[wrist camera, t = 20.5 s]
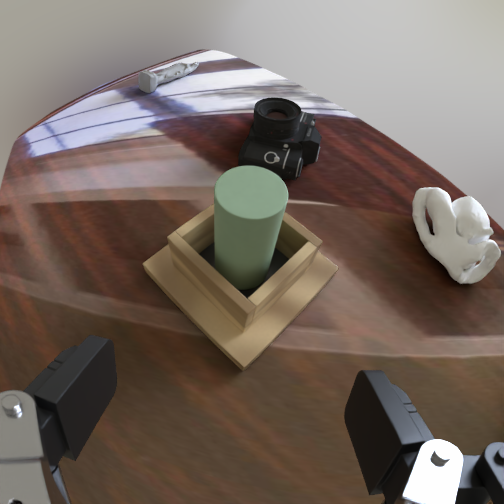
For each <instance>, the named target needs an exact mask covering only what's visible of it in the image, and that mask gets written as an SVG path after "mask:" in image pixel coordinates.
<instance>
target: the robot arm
mask: <svg viewBox="0 0 504 504" xmlns="http://www.w3.org/2000/svg"><path fill="white" fill-rule="evenodd" d="M116 386H117V373H116V364H115V353H114V344H113V341H112V340H110V339H106V338H102V337H98V336H94V335H89V336H88V337H87V338H86V339H85V340H84V341H83V342H82V343H81V344H80V345H79V346H72V347H70V348H68V349H66V350H64V351H62V352H61V353H60V354H59V355H58V356H57V357H56V358H55V359H54V361H52V362H51V363H50V364H49V365H48V366H47V368H45V369H44V370H43V371H42V372H41V373H40V374H39V375H38V376H37V377H36V378H35V379H34V380H33V381H32V383H31V384H30V385H29V386H28V387H27V388H26V389H25V390H24V391H19V390H8V391H4V392H2V393H0V504H72V503H71V500H70V497H69V494H68V491H67V488H66V485H65V481H64V478H63V475H62V471H61V468H60V465H59V461H60V460H61V458H62V456H64V457H67V458H69V459H72V460H74V461H76V459H77V457H78V456H79V454H80V452H81V450H82V448H83V447H84V445H85V443H86V441H87V440H88V438H89V436H90V434H91V433H92V431H93V429H94V428H95V426H96V424H97V422H98V421H99V419H100V417H101V416H102V414H103V412H104V411H105V409H106V407H107V406H108V404H109V402H110V400H111V399H112V397H113V395H114V393H115V390H116ZM344 418H345V424H346V427H347V430H348V433H349V435H350V438H351V441H352V444H353V447H354V450H355V453H356V456H357V459H358V462H359V465H360V468H361V471H362V474H363V477H364V480H365V483H366V486H367V489H368V492H369V495H375V494H381V493H383V494H384V497H385V499H384V500H383V502H382V503H381V504H486V503H487V502H488V501H489V500H490V499H492V501H493V503H494V504H504V443H501V442H495V443H491V444H489V445H488V446H487V447H486V449H485V450H484V452H483V453H482V454H481V456H473V455H462V454H461V452H460V450H459V449H458V448H457V447H456V446H454V445H453V444H451V443H449V442H447V441H444V440H435V439H434V437H433V435H432V434H431V432H430V430H429V429H428V427H427V426H426V424H425V422H424V421H423V419H422V418H421V416H420V415H419V413H417V410H416V408H415V407H414V405H412V402H411V401H410V399H409V397H408V396H407V394H406V393H405V392H404V391H402V390H401V389H400V388H399V387H397V386H396V385H395V384H391V383H390V381H389V380H388V378H387V376H386V375H385V373H384V372H383V371H381V370H361V371H359V373H358V374H357V376H356V379H355V382H354V385H353V388H352V391H351V393H350V396H349V399H348V402H347V404H346V407H345V415H344Z"/></svg>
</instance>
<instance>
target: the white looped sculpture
mask: <svg viewBox="0 0 504 504" xmlns="http://www.w3.org/2000/svg"><path fill="white" fill-rule="evenodd" d="M412 206H413V213H412V217H413V219H414V223H415V225H416V229H417V232H418V233H419V235H420V240H421V241H422V243H423V244H424V246H425V248H426V249H427V251H428V252H429V253H430V254H431V255H432V256H433V257H434V258H435V259H437V260H438V261H439V262H440V263H441V264H442V265H444V266H445V267H446V269H447V270H448V272H449V275H450V276H451V277H452V278H453V279H454V280H455V281H457V282H459V283H460V284H462V283H470V284H472V283H475V282H478V281H480V280H481V279H482V278H484V277H485V276H486V275H487V274H488V273H489V272H490V271H491V270H492V269H493V268H494V266H495V263H496V261H497V260H498V259H499V258H500V255H501V251H500V249H499V248H498V245H497V244H496V243H495V242H494V241H493V240H488V239H489V236H490V235H492V234H493V233H494V232H493V230H492V228H490V224H489V223H490V221H489V218H488V216H487V213H486V212H485V210H484V209H483V207H482V205H480V204H479V203H478V202H477V201H476V199H473V198H472V197H471V196H468V197H467V196H466V197H462V198H459V199H457V200H455V201H453V203H451V199H450V196H449V195H448V193H447V192H445V191H443V190H442V189H440V188H438V187H437V188H431V187H428V188H420V189H419V190H418V191H417V192H416V193H415V197H414V200H413V202H412ZM426 208H427V211H428V214H429V216H430V218H431V219H432V221H433V231H434V233H435V235H432V234H431V233H430V230H429V228H428V224H427V222H426V218H425V210H426ZM486 240H487V241H486ZM481 259H482V260H481ZM480 260H481V262H480V263H479V264H478V265H476V266H474V265H475V263H476V262H477V261H480ZM473 266H474V267H473ZM470 268H471V269H470ZM464 269H466V270H464ZM463 270H464V271H463Z"/></svg>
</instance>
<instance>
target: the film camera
mask: <svg viewBox="0 0 504 504" xmlns="http://www.w3.org/2000/svg"><path fill="white" fill-rule="evenodd" d="M313 118H314V114H311V113H306V112H302V111H301V108H300V107H299V106H298V105H297V104H296V103H294V102H292V101H290V100H287V99H283V98H266V99H262V100H260V101H258V102H257V103H256V104H255V108H254V123H253V124H252V126H251V128H250V133H249V135H248V137H247V139H246V140H245V142H244V144H243V146H242V147H241V150H240V152H239V155H238V165H239V166H257V167H262V168H265V169H267V170H270V171H272V172H273V173H275V174H276V175H278V176H281V178H282V179H286V178H288V179H292V180H295V179H296V178H297V177H299V176H300V173H301V169H302V165H304V164H311V163H314V162H317V158H318V154H319V150H320V147H319V146H320V140H321V135H320V134H319V132H318V131H317V129H316V128H315V121H316V119H313Z"/></svg>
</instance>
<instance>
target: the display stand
mask: <svg viewBox="0 0 504 504" xmlns="http://www.w3.org/2000/svg"><path fill="white" fill-rule="evenodd" d="M167 239H168V245H167V246H165V247H164V248H163V249H161V250H160V251H159V252H157V253H156V254H155V255H153V256H152V257H151V258H149V259H148V260H147V261H145V262H144V263H143V266H144V269H145V271H146V273H147V274H148V275H149V276H150V277H151V278H152V280H153V281H154V282H155V283H156V284H157V285H158V286H159V287H160V288H161V289H162V290H163V292H164V293H165V294H166V295H167V296H168V297H169V298H170V299H171V300H172V301H173V302H174V303H175V304H176V305H177V307H178V308H179V309H180V310H181V311H182V312H183V313H184V314H185V315H186V316H187V317H188V318H189V319H190V320H191V321H192V322H193V323H194V324H195V325H196V326H197V327H198V328H199V329H200V330H201V331H202V332H203V333H204V334H205V335H206V336H207V337H208V338H209V339H210V340H211V341H212V342H213V343H214V344H215V345H216V346H217V347H218V348H219V349H220V350H221V351H222V352H223V353H224V354H225V355H226V356H227V357H228V358H229V359H230V360H231V361H233V362H234V363H235V364H236V365H237V366H238V367H239V368H240V369H241V370H242V371H244V370H245V369H246V368H247V367H248V366H249V365H250V364H251V363H252V362H253V361H254V360H255V359H256V358H257V357H258V356H259V355H260V354H261V353H262V352H263V351H264V350H265V349H266V348H267V347H268V346H269V345H270V344H271V343H272V342H273V341H274V340H275V339H276V338H277V337H278V336H279V335H280V334H281V333H282V332H283V331H284V330H285V329H286V328H287V327H288V326H289V325H290V324H291V322H292V321H293V320H294V319H295V318H296V317H297V316H298V315H299V314H300V313H301V312H302V311H303V310H304V309H305V307H306V306H307V305H308V304H309V303H310V302H311V301H312V300H313V299H314V298H315V297H316V295H317V294H318V293H319V292H320V291H321V290H322V289H323V288H324V287H325V285H326V284H327V283H328V282H329V281H330V280H331V279H332V278H333V276H334V275H335V274H336V272H337V270H338V269H339V268H338V267H337V266H336V265H335V264H333V263H332V262H331V261H330V260H329V259H327V258H326V257H325V256H324V255H322V254H321V253H320V252H319V251H318V250H319V248H320V246H321V244H322V242H323V241H322V240H320V239H319V238H318V237H317V236H315V235H314V234H313V233H312V232H310V231H309V230H308V229H306V228H305V227H304V226H303V225H301V224H300V223H299V222H297V221H296V220H295V219H293V218H292V217H291V216H290V215H288V214H287V213H286V212H284V216H283V219H282V223H281V227H280V230H279V234H278V237H277V241H276V245H275V248H274V252H273V256H272V259H271V263H270V266H269V270H268V273H267V276H266V278H265V279H264V281H263V282H262V283H261V284H259V285H258V286H256V287H254V288H251V289H247V290H238V289H236V288H235V287H234V286H233V285H232V284H231V283H229V282H228V281H227V280H226V279H225V278H224V277H223V276H222V275H221V274H220V273H219V272H218V271H216V270H215V242H214V204H212V205H211V206H209V207H208V208H206V209H205V210H204V211H202V212H201V213H199V214H198V215H197V216H195V217H194V218H192V219H191V220H190V221H188V222H187V223H185V224H184V225H183V226H181V227H180V228H178V229H177V230H176V231H175V232H173V233H172V234H171V235H169V236H168V237H167Z"/></svg>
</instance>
